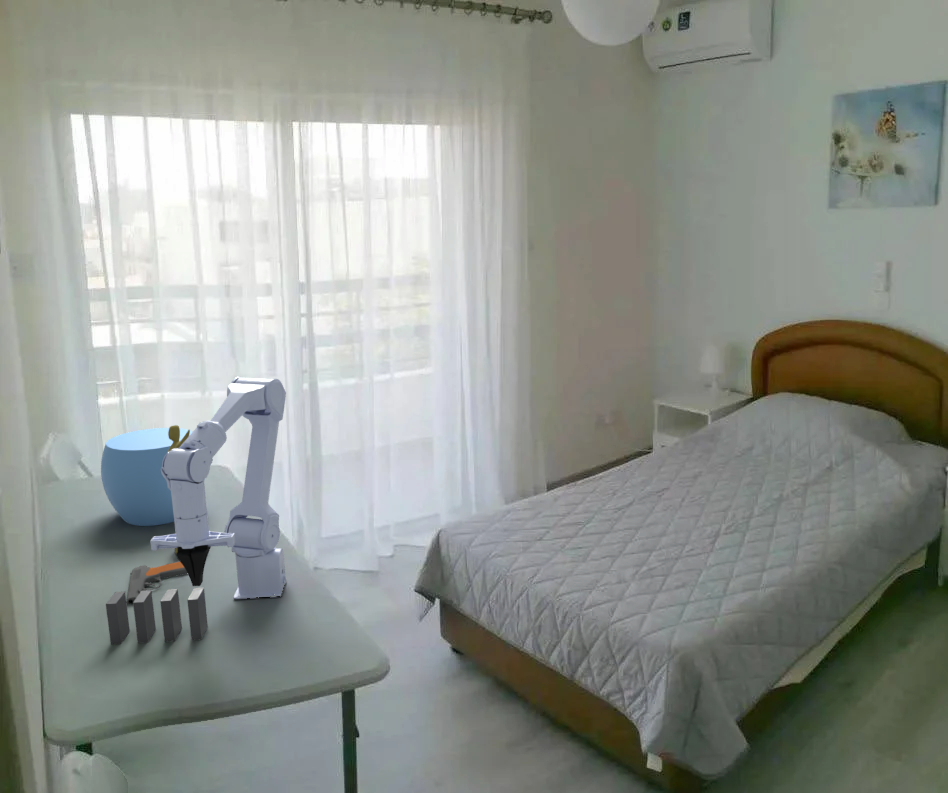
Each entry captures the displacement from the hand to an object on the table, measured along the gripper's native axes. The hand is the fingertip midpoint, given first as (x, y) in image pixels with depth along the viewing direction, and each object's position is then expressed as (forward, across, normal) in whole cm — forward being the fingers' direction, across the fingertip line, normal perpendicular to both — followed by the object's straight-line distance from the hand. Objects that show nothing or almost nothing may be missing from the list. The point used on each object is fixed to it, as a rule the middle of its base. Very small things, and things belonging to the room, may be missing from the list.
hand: (197, 583), depth 153 cm
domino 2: (+10, -5, 0) cm, 11 cm away
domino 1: (+10, -10, 0) cm, 14 cm away
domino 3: (+10, 0, 0) cm, 10 cm away
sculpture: (+10, -12, +40) cm, 43 cm away
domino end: (+10, -15, 0) cm, 18 cm away
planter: (+10, -27, +66) cm, 72 cm away
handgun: (+11, -15, +23) cm, 29 cm away
